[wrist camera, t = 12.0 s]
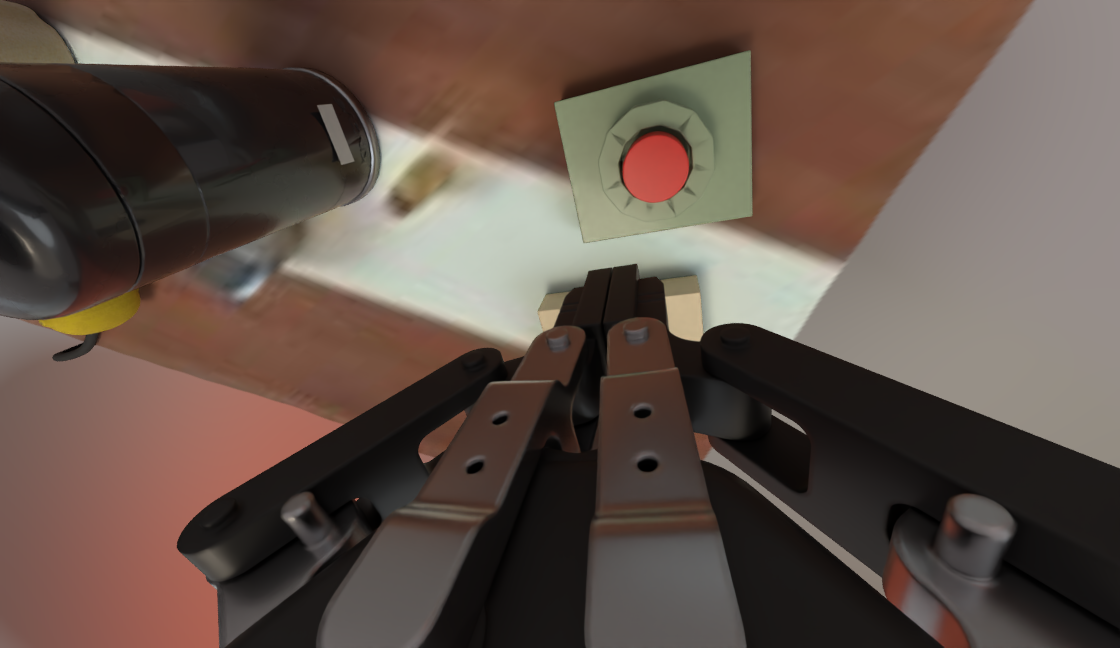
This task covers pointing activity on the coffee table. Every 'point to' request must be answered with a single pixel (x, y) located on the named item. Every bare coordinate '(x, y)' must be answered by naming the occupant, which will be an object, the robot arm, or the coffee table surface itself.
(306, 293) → the coffee table surface
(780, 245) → the coffee table surface
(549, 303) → the panel
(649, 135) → the button
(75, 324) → the lemon
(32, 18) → the flower pot
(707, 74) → the switch box
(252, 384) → the coffee table surface
